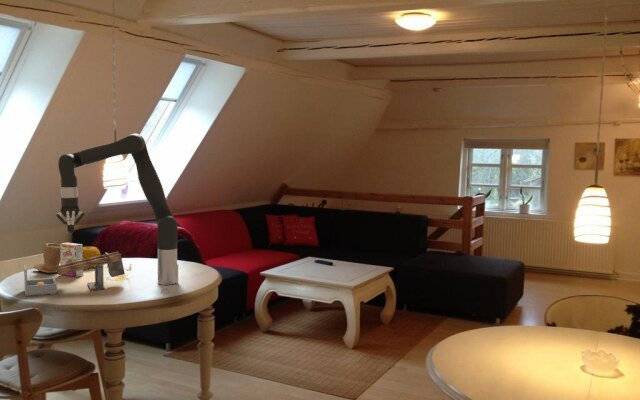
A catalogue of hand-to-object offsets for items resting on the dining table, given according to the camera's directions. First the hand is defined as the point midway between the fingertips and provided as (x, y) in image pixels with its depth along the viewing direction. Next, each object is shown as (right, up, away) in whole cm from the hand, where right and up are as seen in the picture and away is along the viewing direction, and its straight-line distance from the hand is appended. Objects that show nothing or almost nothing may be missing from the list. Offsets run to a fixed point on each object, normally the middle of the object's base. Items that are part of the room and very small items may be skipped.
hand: (70, 232), depth 278 cm
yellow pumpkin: (-9, -22, +43) cm, 48 cm away
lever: (+10, -22, +1) cm, 24 cm away
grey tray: (-8, -26, -13) cm, 30 cm away
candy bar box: (-9, -23, +22) cm, 33 cm away
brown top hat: (-23, -22, +30) cm, 44 cm away
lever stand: (+13, -26, -2) cm, 29 cm away
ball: (-8, -24, -13) cm, 28 cm away
